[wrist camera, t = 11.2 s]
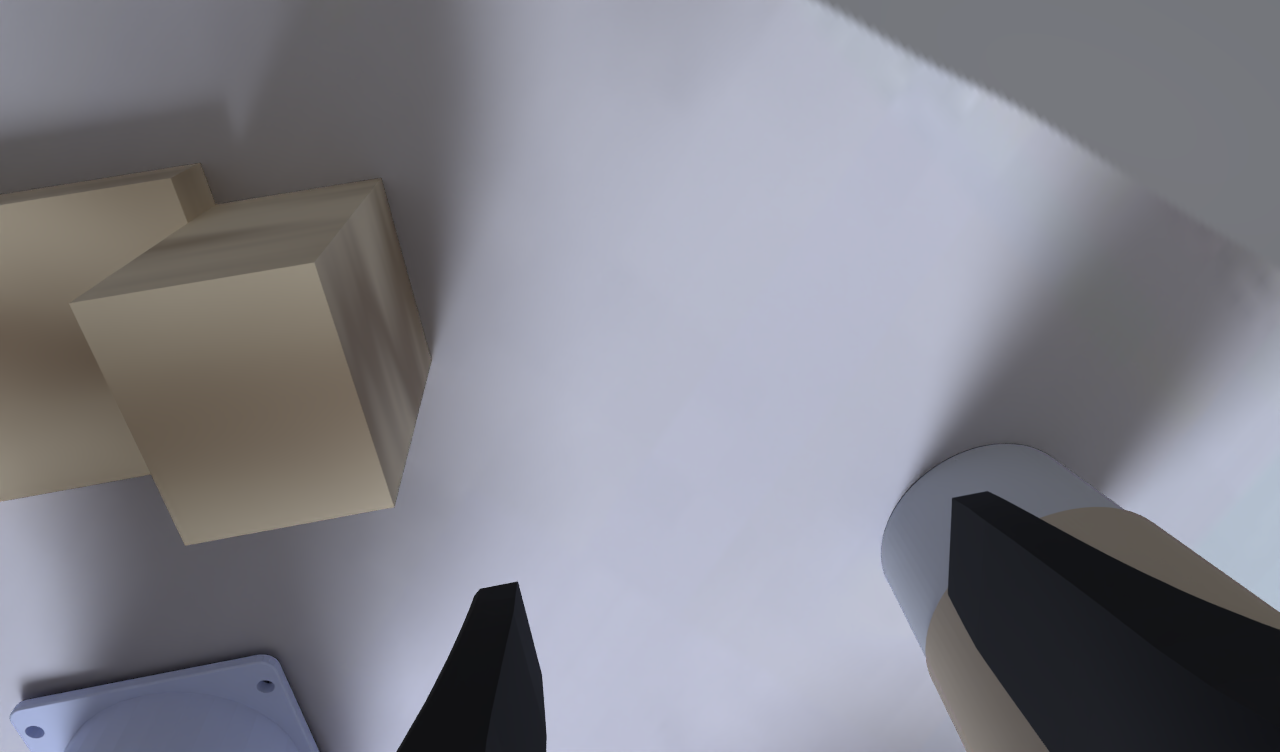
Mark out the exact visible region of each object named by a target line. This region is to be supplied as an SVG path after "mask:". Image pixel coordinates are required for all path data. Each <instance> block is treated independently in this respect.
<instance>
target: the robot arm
mask: <svg viewBox="0 0 1280 752" xmlns="http://www.w3.org/2000/svg"><path fill="white" fill-rule="evenodd" d="M948 596H949V598H950V600H951V602H952V604H953V606H954V608H955V609H956V611H957V613H958V615H959V617H960V619H961V621H962V623H963V625H964V627H965V629H966V630H967V632H968V634H969V636H970V638H971V640H972V641H973V643H974V645H975V647H976V649H977V650H978V652H979V653H980V654H981V656H982V657H983V659H984V660H985V662H986V663H987V665H988V666H989V667H990V669H991V670H992V672H993V673H994V675H995V676H996V677H997V679H998V680H999V682H1000V683H1001V685H1002V686H1003V687H1004V689H1005V690H1006V692H1007V693H1008V694H1009V696H1010V697H1011V699H1012V700H1013V701H1014V703H1015V704H1016V706H1017V707H1018V708H1019V710H1020V711H1021V713H1022V714H1023V715H1024V717H1025V718H1026V720H1027V721H1028V722H1029V724H1030V725H1031V727H1032V728H1033V729H1034V731H1035V732H1036V734H1037V735H1038V736H1039V738H1040V739H1041V741H1042V742H1043V743H1044V745H1045V746H1046V748H1047V749H1048V750H1049V752H1280V629H1277V628H1274V627H1271V626H1268V625H1266V624H1263V623H1260V622H1258V621H1255V620H1253V619H1250V618H1248V617H1245V616H1243V615H1240V614H1237V613H1235V612H1232V611H1230V610H1227V609H1225V608H1222V607H1220V606H1217V605H1215V604H1212V603H1210V602H1207V601H1205V600H1203V599H1200V598H1198V597H1196V596H1193V595H1191V594H1189V593H1187V592H1184V591H1182V590H1180V589H1178V588H1176V587H1173V586H1171V585H1169V584H1167V583H1165V582H1163V581H1161V580H1158V579H1156V578H1154V577H1152V576H1150V575H1148V574H1146V573H1143V572H1141V571H1139V570H1137V569H1135V568H1133V567H1131V566H1129V565H1127V564H1125V563H1123V562H1121V561H1119V560H1117V559H1115V558H1113V557H1111V556H1109V555H1107V554H1105V553H1103V552H1102V551H1100V550H1098V549H1096V548H1094V547H1092V546H1090V545H1088V544H1086V543H1084V542H1083V541H1081V540H1079V539H1077V538H1075V537H1073V536H1071V535H1069V534H1068V533H1066V532H1064V531H1062V530H1060V529H1058V528H1057V527H1055V526H1053V525H1051V524H1049V523H1047V522H1046V521H1044V520H1042V519H1040V518H1038V517H1036V516H1035V515H1033V514H1031V513H1029V512H1027V511H1025V510H1024V509H1022V508H1020V507H1018V506H1016V505H1014V504H1012V503H1011V502H1009V501H1007V500H1005V499H1003V498H1001V497H999V496H997V495H995V494H993V493H991V492H989V491H985V492H980V493H974V494H969V495H964V496H959V497H954V498H952V509H951V531H950V553H949V575H948ZM263 680H268V681H270V682H272V683H266V682H263ZM10 721H11V723H12V725H13V726H14V727H15V729H16V730H17V732H18V733H19V735H20V736H21V738H22V739H23V741H24V742H25V744H26V745H27V747H28V748H29V750H30V751H31V752H319V750H318V747H317V745H316V743H315V741H314V739H313V736H312V734H311V732H310V730H309V727H308V725H307V723H306V721H305V719H304V716H303V714H302V712H301V710H300V707H299V705H298V703H297V701H296V699H295V696H294V694H293V692H292V690H291V687H290V685H289V683H288V681H287V679H286V676H285V674H284V672H283V670H282V667H281V665H280V663H279V662H278V661H277V659H275V658H274V657H272V656H269V655H265V654H264V655H254V656H249V657H244V658H239V659H234V660H229V661H223V662H218V663H213V664H208V665H203V666H198V667H193V668H187V669H182V670H177V671H172V672H167V673H162V674H157V675H151V676H146V677H141V678H136V679H131V680H126V681H121V682H116V683H110V684H105V685H100V686H95V687H90V688H85V689H80V690H74V691H69V692H64V693H59V694H54V695H49V696H44V697H38V698H33V699H28V700H24V701H22V702H20V703H19V704H17V705H16V707H15V708H14V710H13V711H12V712H11V714H10ZM37 726H38V727H37ZM40 727H41V728H40ZM397 752H546V722H545V708H544V695H543V682H542V674H541V670H540V666H539V662H538V658H537V654H536V650H535V646H534V642H533V639H532V635H531V631H530V627H529V623H528V619H527V615H526V611H525V607H524V604H523V600H522V596H521V592H520V588H519V584H518V582H513V583H508V584H503V585H497V586H492V587H487V588H482V589H480V590H479V591H478V592H477V593H476V595H475V596H474V598H473V601H472V604H471V606H470V609H469V611H468V614H467V616H466V618H465V621H464V623H463V626H462V628H461V630H460V632H459V635H458V637H457V639H456V641H455V643H454V646H453V648H452V650H451V652H450V654H449V656H448V658H447V660H446V662H445V664H444V666H443V668H442V670H441V672H440V674H439V676H438V678H437V680H436V682H435V684H434V686H433V688H432V690H431V692H430V694H429V696H428V698H427V700H426V702H425V703H424V705H423V707H422V709H421V710H420V712H419V714H418V716H417V717H416V719H415V721H414V723H413V724H412V726H411V728H410V729H409V731H408V733H407V735H406V736H405V738H404V740H403V742H402V743H401V745H400V747H399V748H398V750H397Z"/></svg>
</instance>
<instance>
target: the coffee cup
mask: <svg viewBox="0 0 1280 752" xmlns="http://www.w3.org/2000/svg"><path fill="white" fill-rule="evenodd" d="M985 491H989V492H991V493H993V494H995V495H997V496H999V497H1001V498H1003V499H1005V500H1007V501H1009V502H1011V503H1012V504H1014V505H1016V506H1018V507H1020V508H1022V509H1024V510H1025V511H1027V512H1029V513H1031V514H1033V515H1035V516H1036V517H1038V518H1040V519H1042V520H1044V521H1046V522H1047V523H1049V524H1051V525H1053V526H1055V527H1057V528H1058V529H1060V530H1062V531H1064V532H1066V533H1068V534H1069V535H1071V536H1073V537H1075V538H1077V539H1079V540H1081V541H1083V542H1084V543H1086V544H1088V545H1090V546H1092V547H1094V548H1096V549H1098V550H1100V551H1102V552H1103V553H1105V554H1107V555H1109V556H1111V557H1113V558H1115V559H1117V560H1119V561H1121V562H1123V563H1125V564H1127V565H1129V566H1131V567H1133V568H1135V569H1137V570H1139V571H1141V572H1143V573H1146V574H1148V575H1150V576H1152V577H1154V578H1156V579H1158V580H1161V581H1163V582H1165V583H1167V584H1169V585H1171V586H1173V587H1176V588H1178V589H1180V590H1182V591H1184V592H1187V593H1189V594H1191V595H1193V596H1196V597H1198V598H1200V599H1203V600H1205V601H1207V602H1210V603H1212V604H1215V605H1217V606H1220V607H1222V608H1225V609H1227V610H1230V611H1232V612H1235V613H1237V614H1240V615H1243V616H1245V617H1248V618H1250V619H1253V620H1255V621H1258V622H1260V623H1263V624H1266V625H1268V626H1271V627H1274V628H1277V629H1280V612H1278V611H1277V610H1276V609H1274V608H1273V607H1271V606H1270V605H1268V604H1267V603H1266V602H1264V601H1263V600H1261V599H1260V598H1259V597H1257V596H1256V595H1254V594H1253V593H1252V592H1250V591H1249V590H1247V589H1246V588H1245V587H1243V586H1242V585H1240V584H1239V583H1237V582H1236V581H1235V580H1233V579H1232V578H1230V577H1229V576H1228V575H1226V574H1225V573H1223V572H1222V571H1221V570H1219V569H1218V568H1216V567H1215V566H1213V565H1212V564H1211V563H1209V562H1208V561H1206V560H1205V559H1204V558H1202V557H1201V556H1199V555H1198V554H1197V553H1195V552H1194V551H1192V550H1191V549H1190V548H1188V547H1187V546H1185V545H1184V544H1182V543H1181V542H1180V541H1178V540H1177V539H1175V538H1174V537H1173V536H1171V535H1170V534H1168V533H1167V532H1166V531H1164V530H1163V529H1161V528H1160V527H1159V526H1157V525H1156V524H1154V523H1153V522H1151V521H1150V520H1148V519H1147V518H1145V517H1143V516H1141V515H1138V514H1136V513H1133V512H1130V511H1127V510H1124V509H1123V508H1122V507H1120V506H1119V505H1117V504H1116V503H1115V502H1113V501H1112V500H1110V499H1109V498H1108V497H1106V496H1105V495H1104V494H1102V493H1101V492H1099V491H1098V490H1097V489H1095V488H1094V487H1092V486H1091V485H1090V484H1088V483H1087V482H1086V481H1084V480H1083V479H1081V478H1080V477H1079V476H1077V475H1076V474H1074V473H1073V472H1072V471H1070V470H1069V469H1068V468H1066V467H1065V466H1063V465H1062V464H1061V463H1059V462H1058V461H1056V460H1055V459H1054V458H1052V457H1051V456H1049V455H1048V454H1046V453H1044V452H1042V451H1040V450H1038V449H1035V448H1032V447H1029V446H1024V445H1018V444H994V445H987V446H982V447H978V448H974V449H971V450H968V451H965V452H963V453H960V454H958V455H956V456H954V457H951V458H949V459H948V460H946V461H944V462H942V463H941V464H939V465H937V466H936V467H934V468H933V469H932V470H930V471H929V472H928V473H926V474H925V475H924V476H923V477H921V478H920V479H919V480H918V481H917V482H916V483H915V484H914V485H913V486H912V487H911V488H910V489H909V490H908V491H907V492H906V494H905V495H904V496H903V497H902V499H901V500H900V502H899V503H898V504H897V506H896V508H895V509H894V511H893V513H892V515H891V517H890V519H889V521H888V523H887V526H886V529H885V532H884V536H883V540H882V547H881V560H882V566H883V571H884V574H885V576H886V579H887V581H888V583H889V585H890V587H891V589H892V591H893V593H894V595H895V597H896V599H897V601H898V603H899V605H900V607H901V609H902V611H903V613H904V615H905V617H906V619H907V621H908V623H909V625H910V627H911V629H912V631H913V633H914V635H915V637H916V639H917V641H918V643H919V645H920V647H921V649H922V651H923V653H924V655H925V657H926V663H927V667H928V671H929V674H930V676H931V679H932V681H933V683H934V685H935V687H936V689H937V691H938V693H939V695H940V697H941V699H942V701H943V703H944V705H945V707H946V710H947V712H948V714H949V716H950V718H951V720H952V722H953V724H954V726H955V728H956V730H957V732H958V734H959V736H960V738H961V741H962V743H963V745H964V747H965V749H966V751H967V752H1049V750H1048V749H1047V748H1046V746H1045V745H1044V743H1043V742H1042V741H1041V739H1040V738H1039V736H1038V735H1037V734H1036V732H1035V731H1034V729H1033V728H1032V727H1031V725H1030V724H1029V722H1028V721H1027V720H1026V718H1025V717H1024V715H1023V714H1022V713H1021V711H1020V710H1019V708H1018V707H1017V706H1016V704H1015V703H1014V701H1013V700H1012V699H1011V697H1010V696H1009V694H1008V693H1007V692H1006V690H1005V689H1004V687H1003V686H1002V685H1001V683H1000V682H999V680H998V679H997V677H996V676H995V675H994V673H993V672H992V670H991V669H990V667H989V666H988V665H987V663H986V662H985V660H984V659H983V657H982V656H981V654H980V653H979V652H978V650H977V649H976V647H975V645H974V643H973V641H972V640H971V638H970V636H969V634H968V632H967V630H966V629H965V627H964V625H963V623H962V621H961V619H960V617H959V615H958V613H957V611H956V609H955V608H954V606H953V604H952V602H951V600H950V598H949V596H948V575H949V553H950V531H951V509H952V498H954V497H959V496H964V495H969V494H974V493H980V492H985Z"/></svg>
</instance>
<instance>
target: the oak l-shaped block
mask: <svg viewBox="0 0 1280 752" xmlns="http://www.w3.org/2000/svg"><path fill="white" fill-rule="evenodd" d="M431 361H432V360H431V357H430V353H429V350H428V346H427V342H426V339H425V335H424V331H423V328H422V324H421V320H420V317H419V313H418V309H417V306H416V302H415V299H414V295H413V291H412V288H411V284H410V280H409V277H408V273H407V269H406V266H405V262H404V259H403V255H402V251H401V248H400V244H399V240H398V237H397V233H396V229H395V226H394V222H393V219H392V215H391V211H390V208H389V204H388V200H387V197H386V193H385V189H384V186H383V182H382V179H381V178H376V179H370V180H364V181H358V182H351V183H345V184H339V185H333V186H327V187H320V188H314V189H308V190H302V191H296V192H289V193H283V194H277V195H271V196H265V197H258V198H252V199H246V200H240V201H234V202H227V203H221V204H215V201H214V199H213V196H212V193H211V191H210V188H209V185H208V183H207V180H206V177H205V174H204V172H203V169H202V166H201V164H200V163H196V164H190V165H183V166H177V167H171V168H164V169H158V170H152V171H145V172H139V173H133V174H126V175H120V176H114V177H107V178H101V179H95V180H88V181H82V182H76V183H69V184H63V185H57V186H51V187H44V188H38V189H32V190H25V191H19V192H13V193H6V194H0V502H1V501H7V500H12V499H18V498H24V497H29V496H35V495H40V494H46V493H51V492H57V491H63V490H68V489H74V488H79V487H85V486H90V485H96V484H102V483H107V482H113V481H118V480H124V479H130V478H135V477H141V476H146V475H151V476H152V478H153V480H154V482H155V484H156V486H157V488H158V490H159V493H160V495H161V497H162V499H163V501H164V503H165V505H166V507H167V509H168V511H169V513H170V515H171V518H172V520H173V522H174V524H175V526H176V528H177V530H178V532H179V534H180V536H181V538H182V541H183V543H184V545H185V546H188V545H193V544H198V543H204V542H209V541H215V540H220V539H225V538H231V537H236V536H242V535H247V534H252V533H258V532H263V531H269V530H274V529H279V528H285V527H290V526H296V525H301V524H307V523H312V522H317V521H323V520H328V519H334V518H339V517H344V516H350V515H355V514H361V513H366V512H371V511H377V510H382V509H388V508H393V507H394V506H395V503H396V499H397V495H398V491H399V487H400V483H401V479H402V475H403V471H404V467H405V463H406V459H407V455H408V452H409V448H410V444H411V440H412V436H413V432H414V428H415V424H416V420H417V416H418V412H419V408H420V405H421V401H422V397H423V393H424V389H425V385H426V381H427V377H428V373H429V369H430V365H431Z"/></svg>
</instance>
